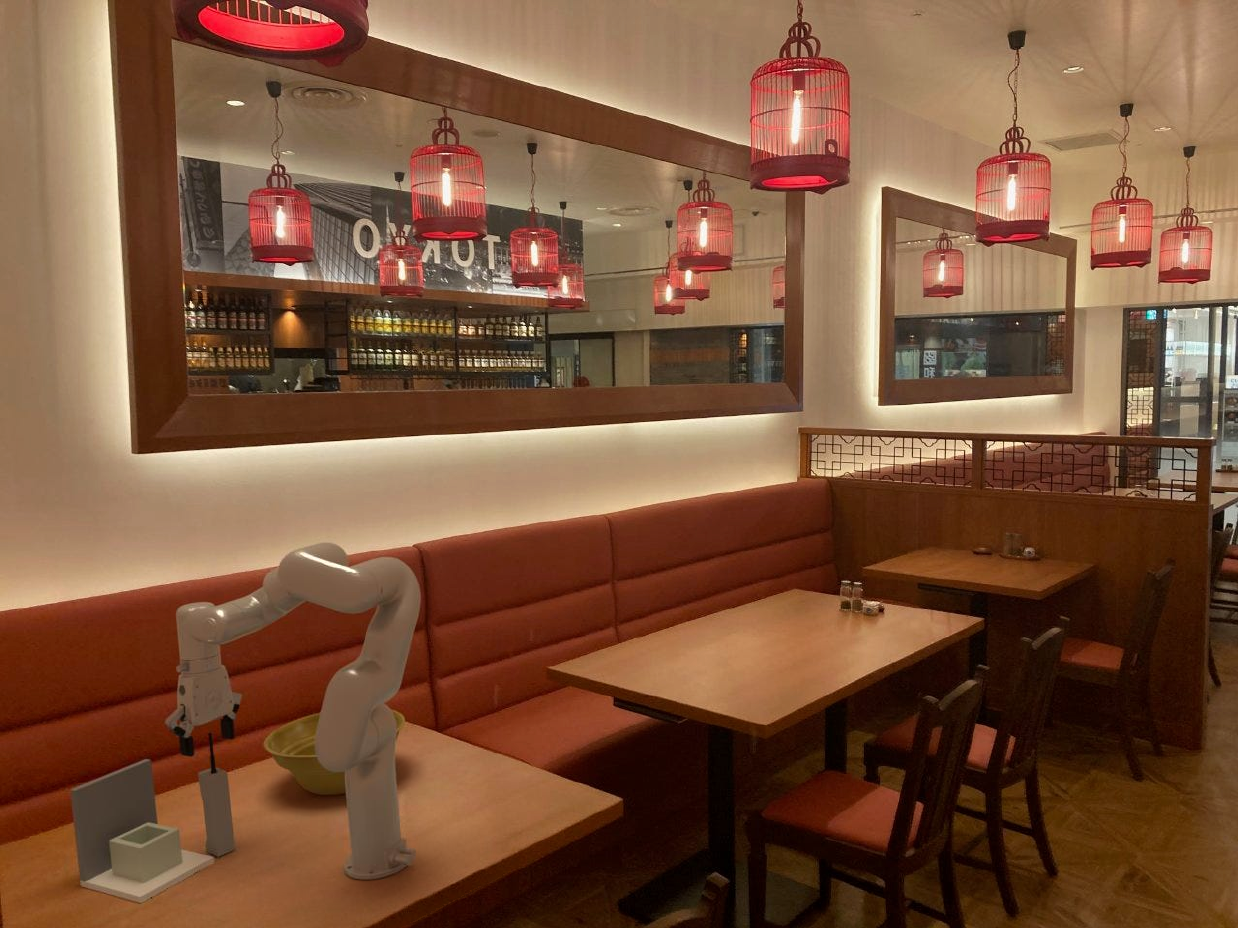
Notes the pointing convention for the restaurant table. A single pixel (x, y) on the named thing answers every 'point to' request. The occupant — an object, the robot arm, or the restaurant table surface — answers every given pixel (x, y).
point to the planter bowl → (308, 755)
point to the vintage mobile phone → (216, 808)
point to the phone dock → (127, 837)
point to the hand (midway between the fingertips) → (208, 746)
